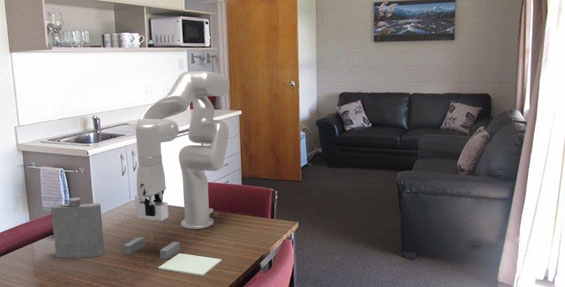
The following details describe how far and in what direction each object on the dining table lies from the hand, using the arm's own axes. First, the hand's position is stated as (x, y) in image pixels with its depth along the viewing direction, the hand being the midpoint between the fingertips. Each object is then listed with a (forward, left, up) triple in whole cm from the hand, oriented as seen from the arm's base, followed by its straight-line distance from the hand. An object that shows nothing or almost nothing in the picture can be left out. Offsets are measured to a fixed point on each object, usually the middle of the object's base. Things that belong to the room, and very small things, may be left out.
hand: (154, 213), depth 169 cm
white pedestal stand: (0, -1, -2) cm, 2 cm away
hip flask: (+10, -23, -14) cm, 29 cm away
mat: (+5, +17, -14) cm, 22 cm away
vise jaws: (0, -1, -14) cm, 14 cm away
